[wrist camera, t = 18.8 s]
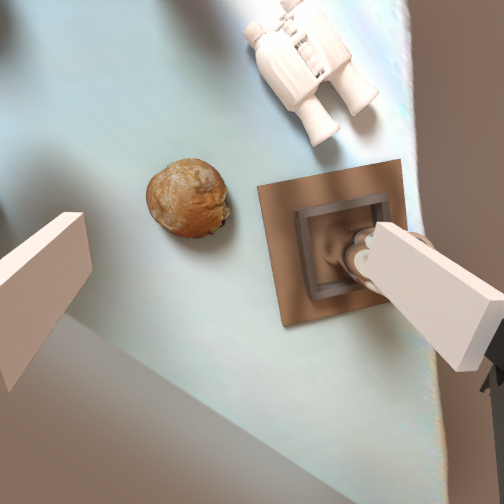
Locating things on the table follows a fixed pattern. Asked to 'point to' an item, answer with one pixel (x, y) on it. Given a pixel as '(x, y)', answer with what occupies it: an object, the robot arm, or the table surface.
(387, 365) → the table surface
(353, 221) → the holder board
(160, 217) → the bread roll
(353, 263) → the beer glass
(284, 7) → the binoculars
